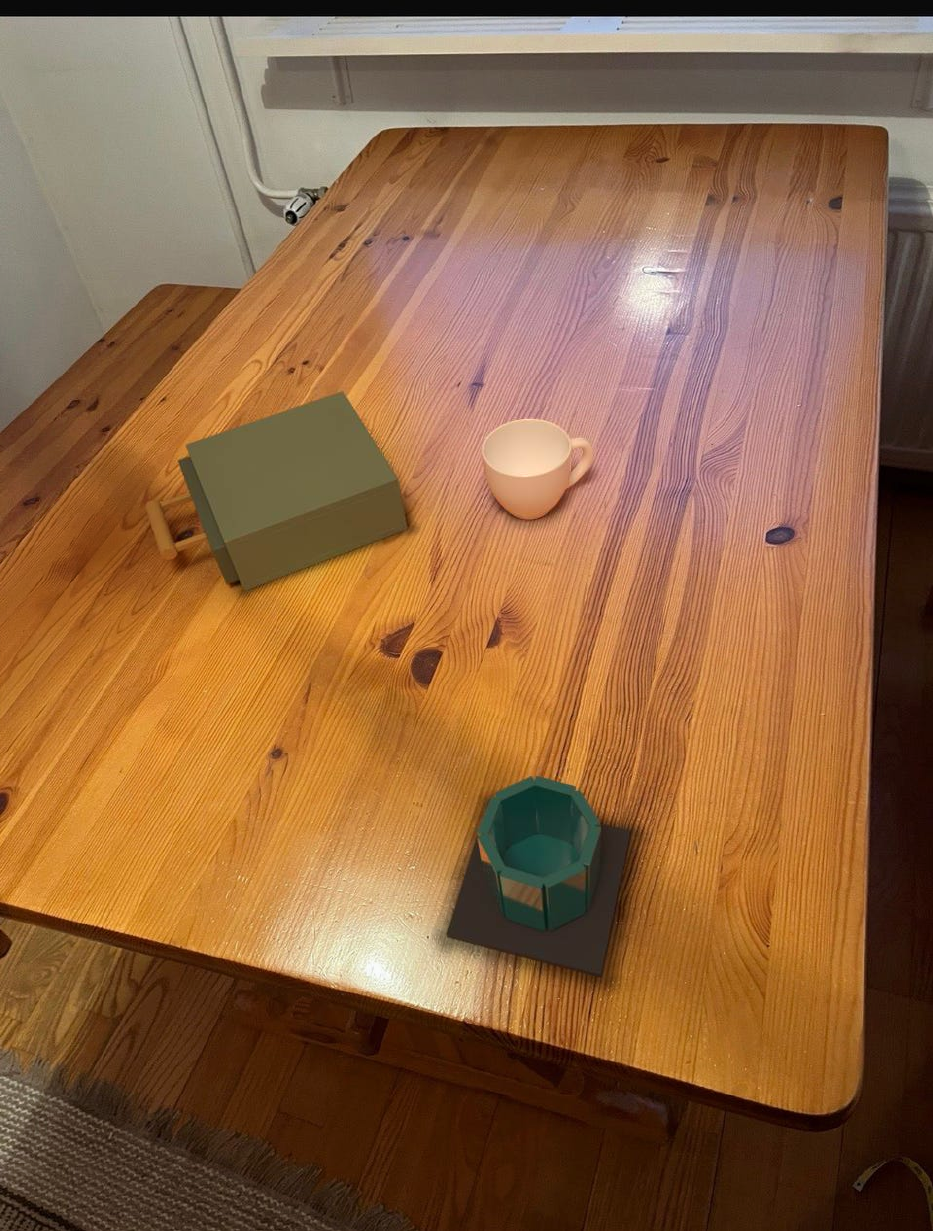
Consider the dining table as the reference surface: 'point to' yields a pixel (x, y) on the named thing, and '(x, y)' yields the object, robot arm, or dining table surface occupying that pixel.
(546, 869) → the green octagonal cup
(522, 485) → the cup
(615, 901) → the mat
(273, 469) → the cabinet
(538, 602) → the dining table surface
